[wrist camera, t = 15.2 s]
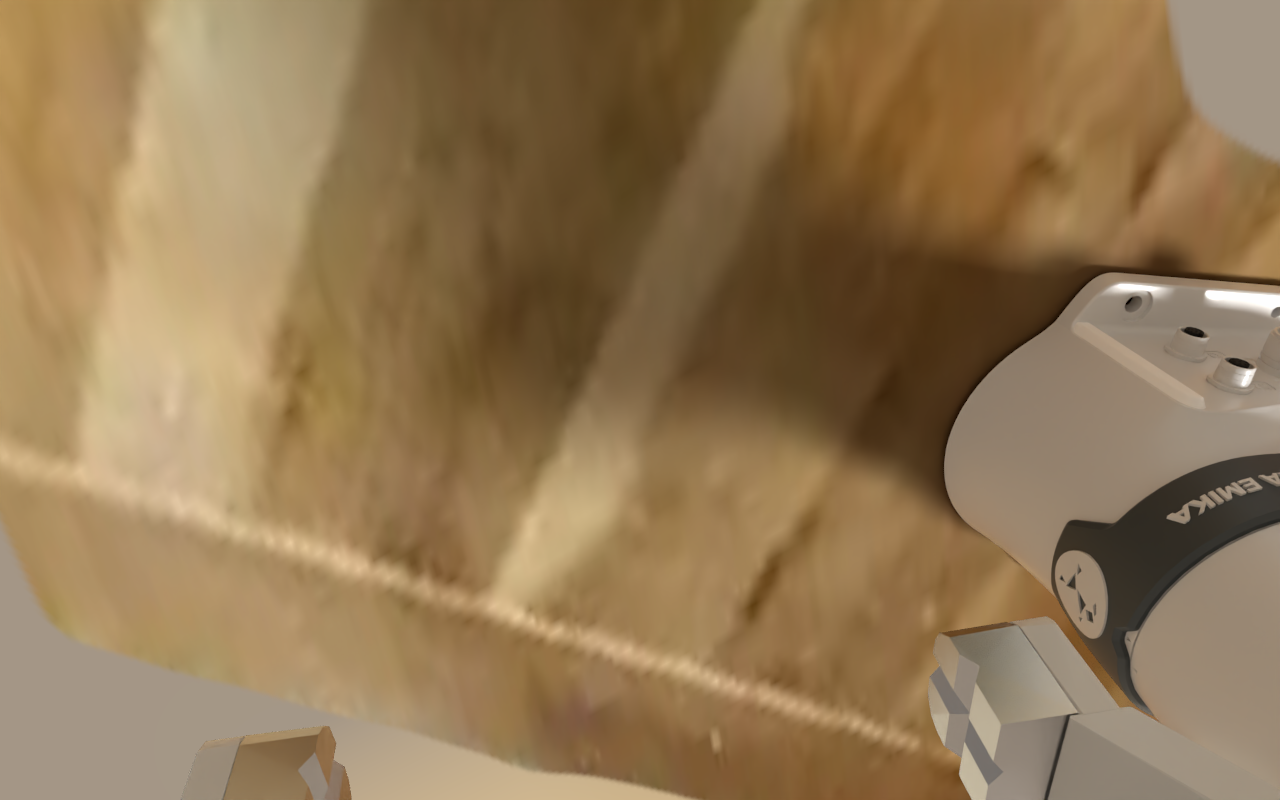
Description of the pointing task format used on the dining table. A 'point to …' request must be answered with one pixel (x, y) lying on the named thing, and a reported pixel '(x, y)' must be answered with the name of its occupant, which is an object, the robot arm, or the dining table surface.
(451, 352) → the dining table surface
